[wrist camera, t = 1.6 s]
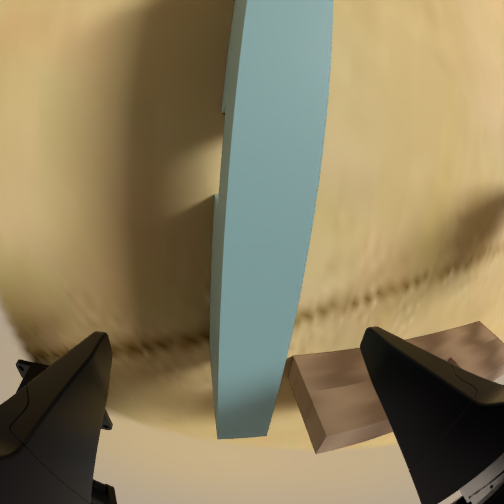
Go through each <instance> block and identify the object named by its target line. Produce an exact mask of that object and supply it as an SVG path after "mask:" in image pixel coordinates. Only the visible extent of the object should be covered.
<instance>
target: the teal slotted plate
mask: <svg viewBox="0 0 504 504" xmlns="http://www.w3.org/2000/svg"><path fill="white" fill-rule="evenodd" d="M332 26H333V0H235V5H234V11H233V18H232V25H231V32H230V40H229V47H228V55H227V63H226V72H225V81H224V90H223V100H222V110H221V113H225V123H224V134H223V145H222V158H221V171H220V185H219V194H215V198H214V216H213V235H212V259H211V290H210V360H211V374H212V386H213V398H214V409H215V420H216V429H217V439H234V438H249V437H260V436H267V432H268V429H269V425H270V422H271V418H272V414H273V410H274V407H275V403H276V399H277V395H278V391H279V387H280V383H281V379H282V375H283V371H284V367H285V362H286V358H287V354H288V349H289V345H290V341H291V336H292V331H293V327H294V322H295V317H296V313H297V308H298V303H299V298H300V293H301V288H302V282H303V277H304V272H305V266H306V261H307V255H308V249H309V243H310V237H311V231H312V225H313V219H314V212H315V205H316V199H317V191H318V184H319V177H320V169H321V161H322V153H323V144H324V135H325V126H326V116H327V105H328V94H329V81H330V67H331V49H332Z"/></svg>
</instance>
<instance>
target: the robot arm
mask: <svg viewBox="0 0 504 504" xmlns="http://www.w3.org/2000/svg"><path fill="white" fill-rule="evenodd" d="M360 351H361V354H362V357H363V359H364V362H365V365H366V368H367V371H368V374H369V377H370V380H371V382H372V385H373V387H374V389H375V391H376V394H377V396H378V398H379V400H380V402H381V405H382V407H383V409H384V411H385V414H386V416H387V418H388V421H389V423H390V425H391V427H392V430H393V432H394V435H395V437H396V439H397V442H398V444H399V446H400V449H401V451H402V454H403V456H404V459H405V461H406V464H407V466H408V469H409V472H410V474H411V477H412V479H413V482H414V484H415V487H416V490H417V493H418V496H419V498H420V501H421V504H438V503H440V502H441V501H443V500H444V499H446V498H447V497H449V496H450V495H452V494H453V493H455V492H456V491H458V490H460V492H461V493H462V496H461V497H460V498H458V499H457V500H456V501H454V502H453V503H452V504H504V385H501V384H498V383H496V382H493V381H490V380H488V379H485V378H483V377H480V376H478V375H475V374H473V373H471V372H468V371H466V370H464V369H462V368H460V367H458V366H456V365H454V364H452V363H451V364H450V363H449V362H447V361H445V360H443V359H441V358H439V357H437V356H435V355H433V354H431V353H429V352H427V351H425V350H423V349H421V348H419V347H417V346H415V345H413V344H411V343H409V342H407V341H405V340H403V339H401V338H399V337H397V336H395V335H393V334H391V333H389V332H387V331H385V330H383V329H381V328H379V327H377V326H375V327H369V328H367V329H366V331H365V333H364V336H363V339H362V341H361V344H360ZM111 363H112V349H111V346H110V342H109V338H108V335H107V333H105V332H98V331H96V332H94V333H92V334H91V335H90V336H88V337H87V338H86V339H84V340H83V341H82V342H80V343H79V344H78V345H76V346H75V347H74V348H73V349H71V350H70V351H69V352H67V353H66V354H65V355H64V356H62V357H61V358H60V359H58V360H57V361H56V362H55V363H53V364H52V365H51V366H46V365H41V364H37V363H33V362H28V361H24V360H18V361H17V363H16V367H17V368H18V370H19V372H20V374H21V376H22V378H23V380H22V382H21V384H20V386H19V388H18V390H17V392H16V394H15V395H13V396H12V397H11V398H9V399H8V400H7V401H5V402H4V403H2V404H1V405H0V504H117V501H116V496H115V490H114V487H112V486H110V485H108V484H102V483H100V482H98V481H96V480H94V479H93V473H94V466H95V459H96V453H97V446H98V441H99V435H100V430H101V429H105V430H111V429H112V426H113V424H112V422H111V420H110V418H109V416H108V414H107V411H106V409H105V406H106V401H107V396H108V388H109V379H110V371H111Z"/></svg>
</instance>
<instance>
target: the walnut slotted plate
mask: <svg viewBox="0 0 504 504" xmlns="http://www.w3.org/2000/svg"><path fill="white" fill-rule="evenodd" d="M405 341H407V342H409V343H411V344H413V345H415V346H417V347H419V348H421V349H423V350H425V351H427V352H429V353H431V354H433V355H435V356H437V357H439V358H441V359H443V360H445V361H447V362H449V363H450V364H451V363H452V364H454V365H456V366H458V367H460V368H462V369H464V370H466V371H468V372H471V373H473V374H475V375H478V376H480V377H483V378H485V379H488V380H490V381H494V380H495V379H497V378H499V377H500V376H501V375H503V374H504V343H503V342H502V341H501V340H500V339H499V338H498V337H497V336H496V335H495V334H493V333H492V332H491V331H490V330H489V329H488V328H487V327H486V326H484V325H483V324H482V323H481V322H480V321H479V322H475V323H472V324H468V325H465V326H461V327H458V328H454V329H450V330H446V331H442V332H438V333H434V334H430V335H426V336H421V337H417V338H412V339H407V340H405ZM288 379H289V382H290V385H291V387H292V390H293V393H294V396H295V399H296V401H297V404H298V407H299V410H300V412H301V415H302V418H303V421H304V423H305V426H306V429H307V432H308V434H309V437H310V440H311V443H312V445H313V448H314V451H315V454H318V453H323V452H327V451H331V450H335V449H339V448H343V447H347V446H350V445H354V444H357V443H361V442H364V441H367V440H370V439H373V438H376V437H379V436H382V435H385V434H388V433H390V432H393V430H392V427H391V425H390V423H389V421H388V418H387V416H386V414H385V411H384V409H383V407H382V405H381V402H380V400H379V398H378V396H377V394H376V391H375V389H374V387H373V385H372V382H371V380H370V377H369V374H368V371H367V368H366V365H365V362H364V359H363V357H362V354H361V351H360V348H357V349H350V350H343V351H335V352H327V353H318V354H308V355H297V356H293V360H292V364H291V368H290V372H289V376H288Z"/></svg>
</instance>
